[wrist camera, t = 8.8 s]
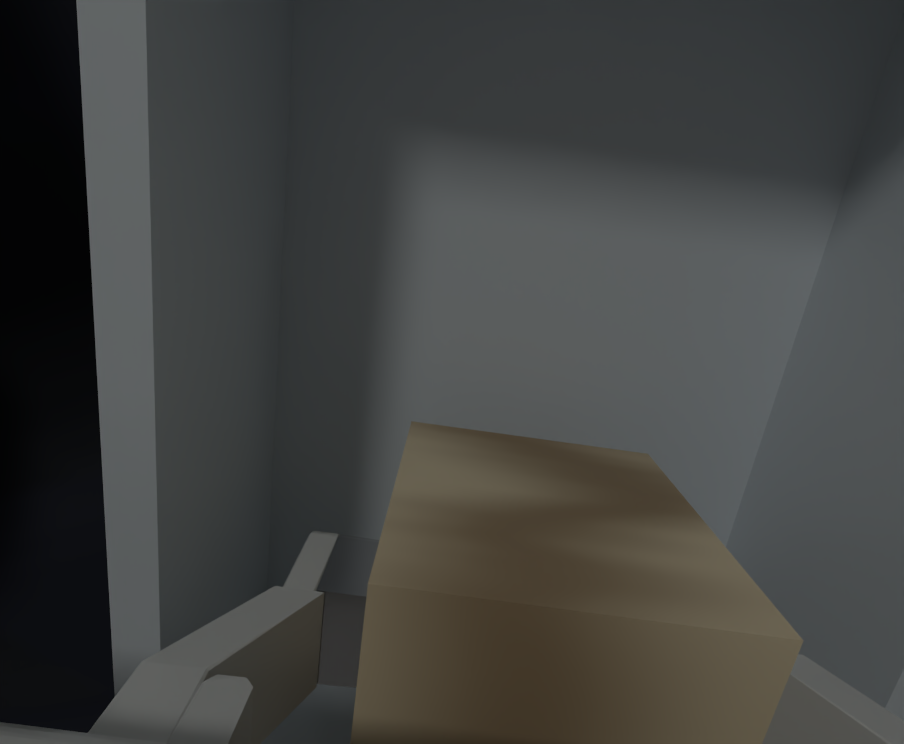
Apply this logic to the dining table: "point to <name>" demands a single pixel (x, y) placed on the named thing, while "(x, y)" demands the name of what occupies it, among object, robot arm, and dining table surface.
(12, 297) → the dining table surface
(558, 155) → the tote
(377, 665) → the beech cube
